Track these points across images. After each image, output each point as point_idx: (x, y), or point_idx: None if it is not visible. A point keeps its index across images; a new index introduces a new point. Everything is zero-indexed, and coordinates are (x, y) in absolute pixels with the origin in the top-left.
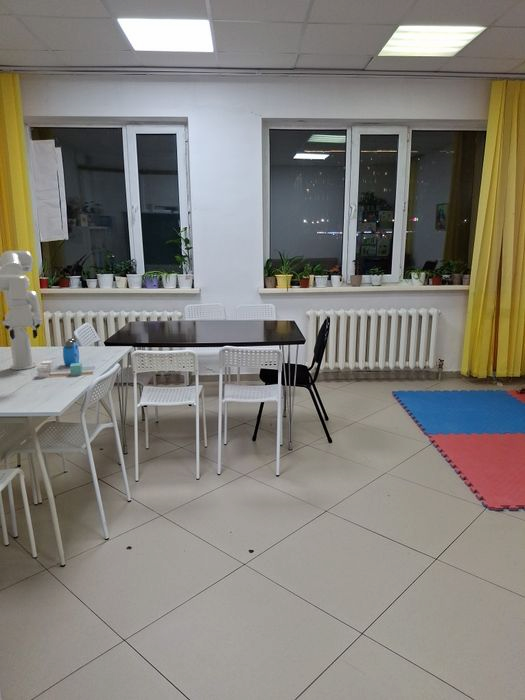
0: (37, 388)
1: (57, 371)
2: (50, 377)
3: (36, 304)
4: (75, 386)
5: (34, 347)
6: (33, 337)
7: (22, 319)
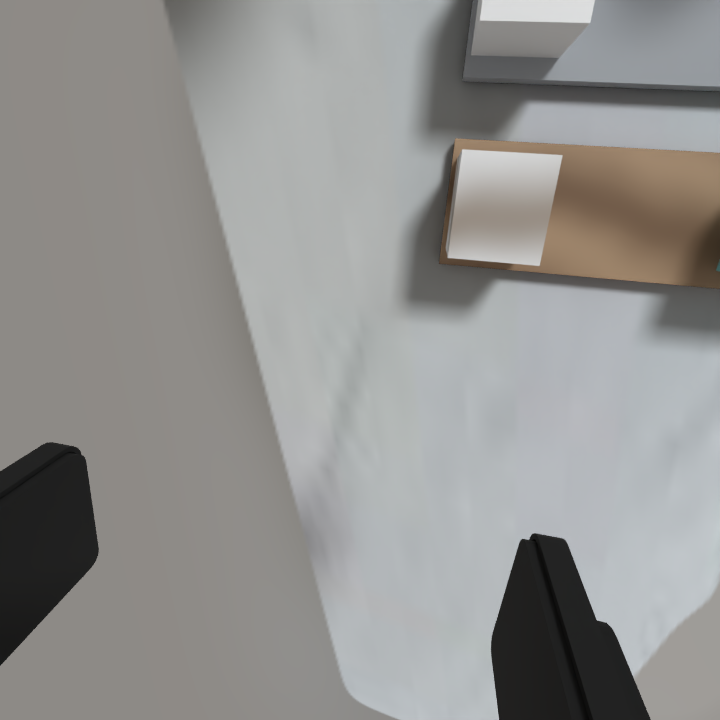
0: (450, 447)
1: (617, 58)
2: (541, 272)
3: None
4: (689, 497)
5: None
6: (494, 657)
7: None
